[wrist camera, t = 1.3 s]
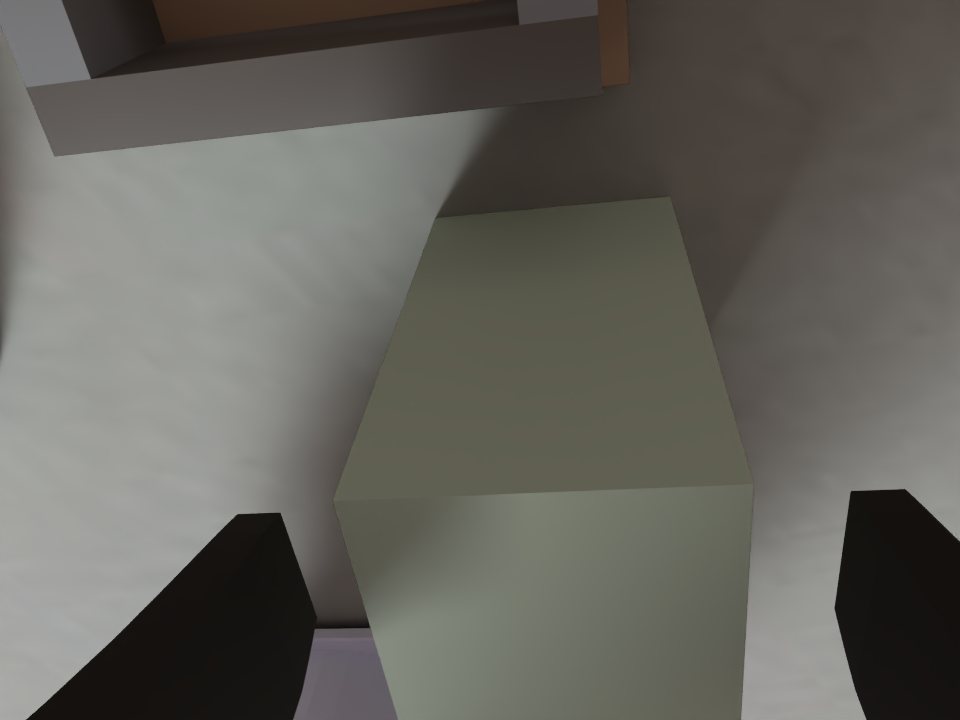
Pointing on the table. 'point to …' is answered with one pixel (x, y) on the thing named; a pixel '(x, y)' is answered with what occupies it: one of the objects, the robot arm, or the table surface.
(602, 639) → the peg
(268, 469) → the table surface
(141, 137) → the grey square socket
